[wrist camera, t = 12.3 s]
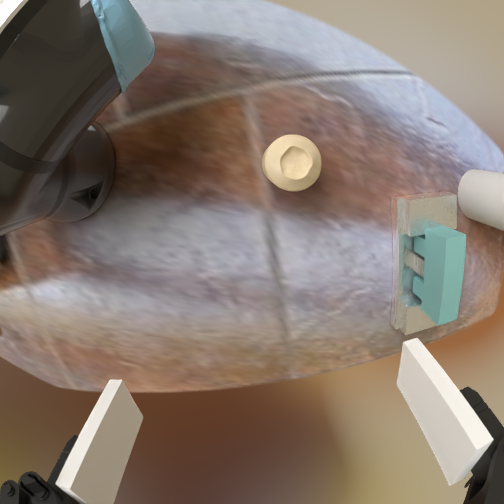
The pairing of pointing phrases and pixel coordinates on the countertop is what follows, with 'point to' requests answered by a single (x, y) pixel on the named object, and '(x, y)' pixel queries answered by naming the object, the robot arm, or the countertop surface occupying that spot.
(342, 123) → the countertop surface
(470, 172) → the cup
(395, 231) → the white block holder tray
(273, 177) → the candle
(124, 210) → the countertop surface
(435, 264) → the teal notched block
